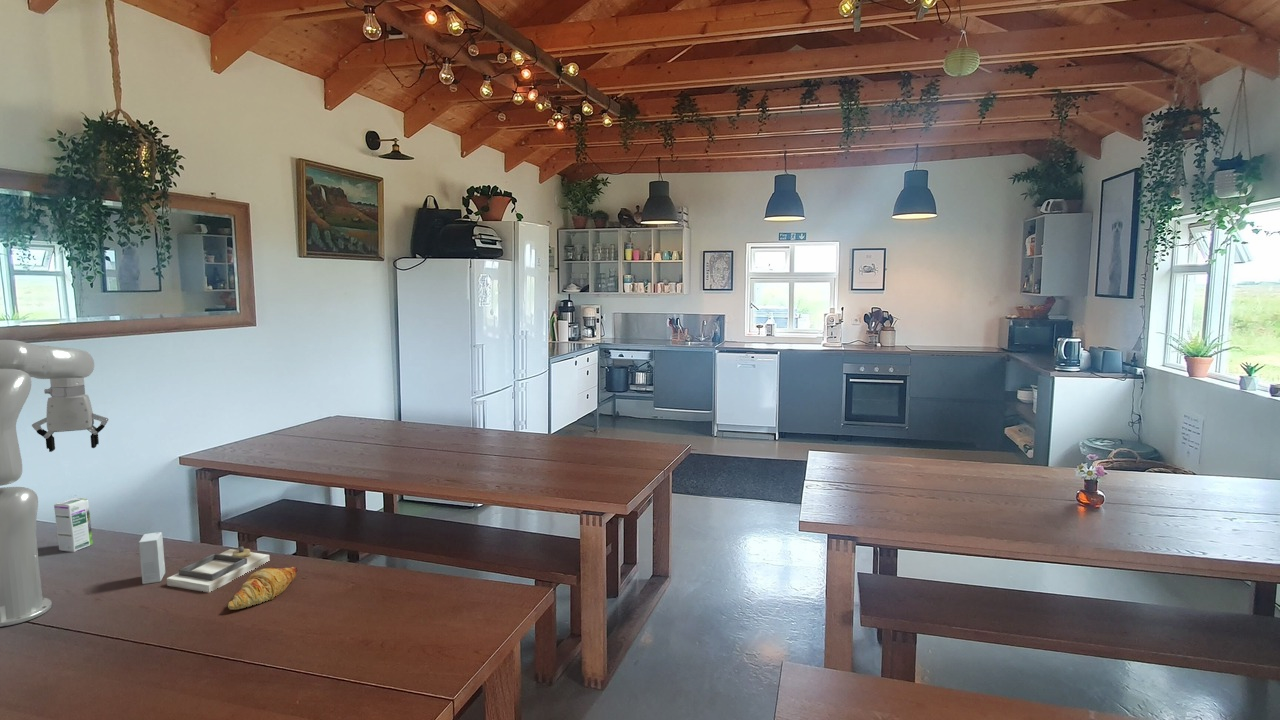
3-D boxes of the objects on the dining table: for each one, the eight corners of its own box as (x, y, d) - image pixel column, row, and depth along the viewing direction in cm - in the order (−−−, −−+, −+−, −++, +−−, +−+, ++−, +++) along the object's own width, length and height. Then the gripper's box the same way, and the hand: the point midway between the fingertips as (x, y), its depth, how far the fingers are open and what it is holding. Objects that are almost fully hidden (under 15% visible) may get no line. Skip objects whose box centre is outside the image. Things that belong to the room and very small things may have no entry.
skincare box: (147, 575, 183) (143, 533, 182) (165, 572, 185) (162, 531, 184) (141, 584, 178) (138, 541, 176) (160, 582, 180) (157, 539, 178)
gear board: (209, 592, 174) (208, 576, 174) (167, 585, 178) (165, 569, 177) (269, 561, 194) (268, 546, 193) (230, 555, 197) (229, 540, 197)
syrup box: (74, 552, 197) (69, 505, 195) (58, 550, 198) (53, 503, 197) (93, 544, 203) (89, 498, 201) (77, 543, 204) (73, 497, 202)
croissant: (239, 628, 164) (250, 604, 162) (209, 605, 166) (219, 580, 164) (304, 588, 184) (313, 566, 182) (276, 568, 186) (285, 545, 184)
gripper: (25, 396, 188) (31, 455, 190) (103, 391, 196) (107, 448, 198) (33, 391, 194) (38, 449, 196) (108, 387, 202) (112, 443, 205)
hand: (73, 448), depth 197 cm, fingers open, 9 cm apart
